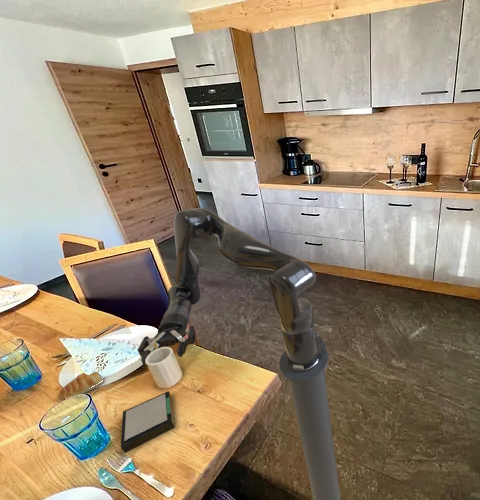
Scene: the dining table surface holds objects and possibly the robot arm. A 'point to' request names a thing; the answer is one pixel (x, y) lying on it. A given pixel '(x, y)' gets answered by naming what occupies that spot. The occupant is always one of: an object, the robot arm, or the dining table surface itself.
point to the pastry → (81, 385)
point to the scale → (147, 421)
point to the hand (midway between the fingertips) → (162, 358)
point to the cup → (164, 367)
